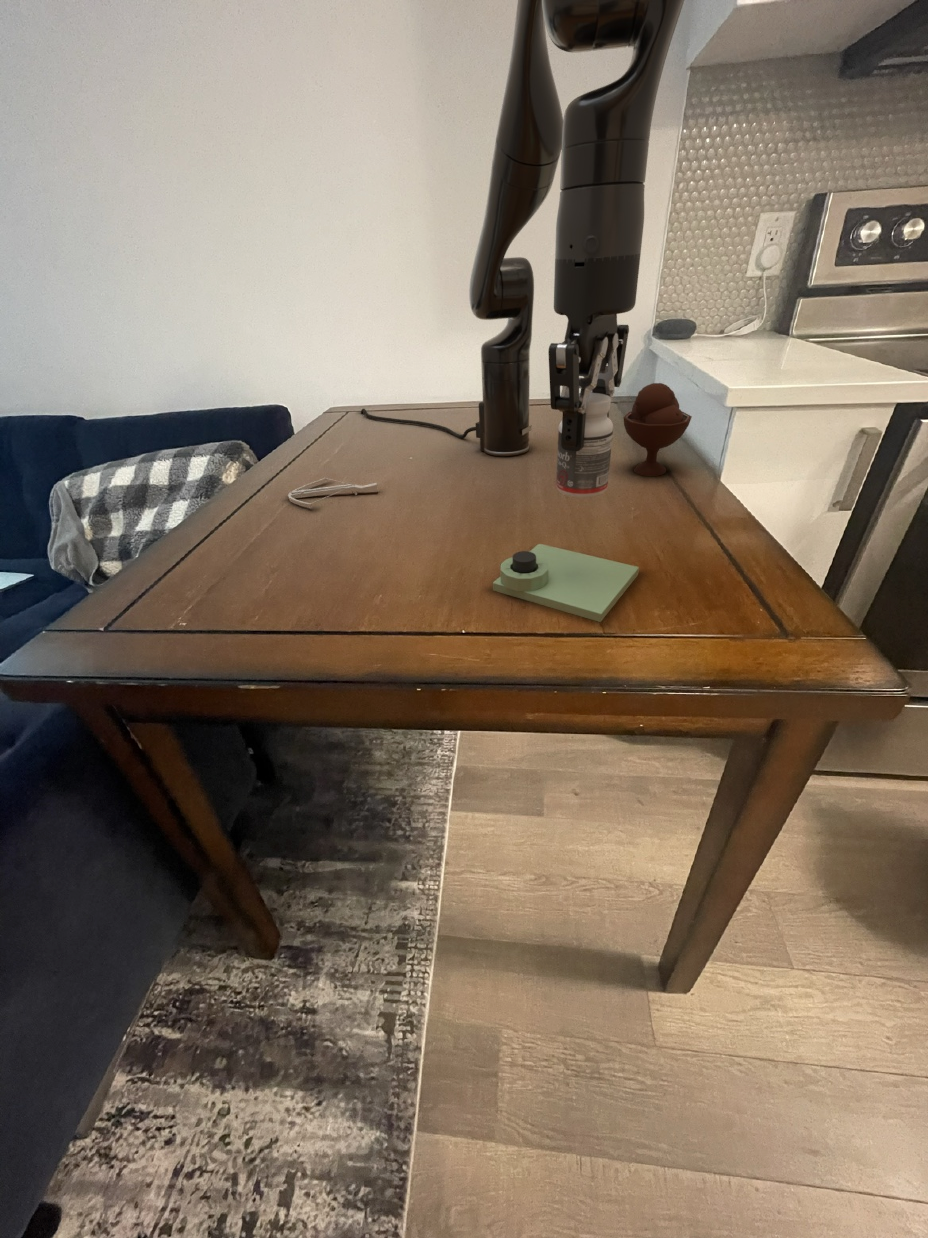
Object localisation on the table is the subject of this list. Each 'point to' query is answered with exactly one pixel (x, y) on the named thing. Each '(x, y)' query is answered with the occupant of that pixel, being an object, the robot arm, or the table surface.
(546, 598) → the scale
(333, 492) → the crossbow
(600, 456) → the pill bottle
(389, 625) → the table surface
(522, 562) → the button
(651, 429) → the ice cream bowl
